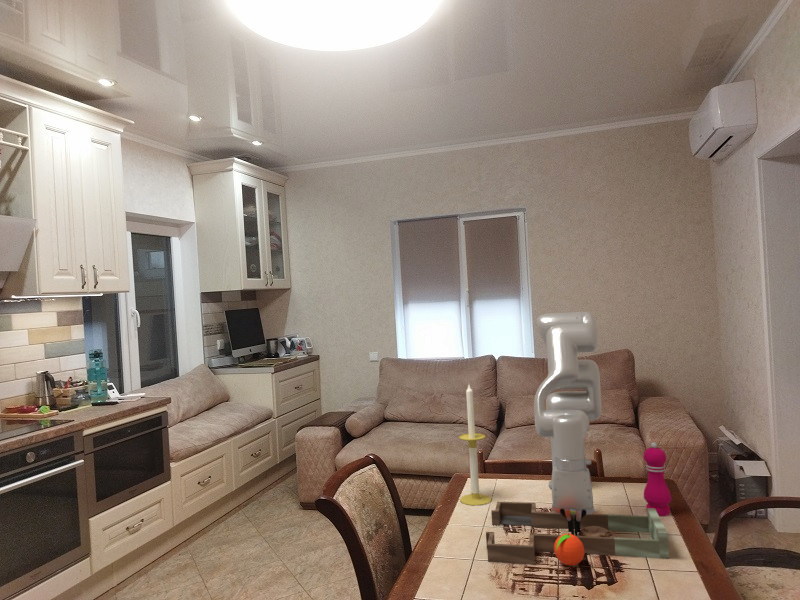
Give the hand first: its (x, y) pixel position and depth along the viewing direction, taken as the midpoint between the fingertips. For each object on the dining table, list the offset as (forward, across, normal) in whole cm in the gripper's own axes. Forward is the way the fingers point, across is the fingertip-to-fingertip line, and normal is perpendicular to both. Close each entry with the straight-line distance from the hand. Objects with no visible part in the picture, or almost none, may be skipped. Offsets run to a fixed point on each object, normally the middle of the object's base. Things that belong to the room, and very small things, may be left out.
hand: (574, 534), depth 146 cm
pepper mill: (+2, -24, -22) cm, 33 cm away
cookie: (+2, -6, 0) cm, 6 cm away
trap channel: (+2, 0, 0) cm, 2 cm away
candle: (+2, +29, -27) cm, 40 cm away
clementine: (+2, +2, +14) cm, 14 cm away
